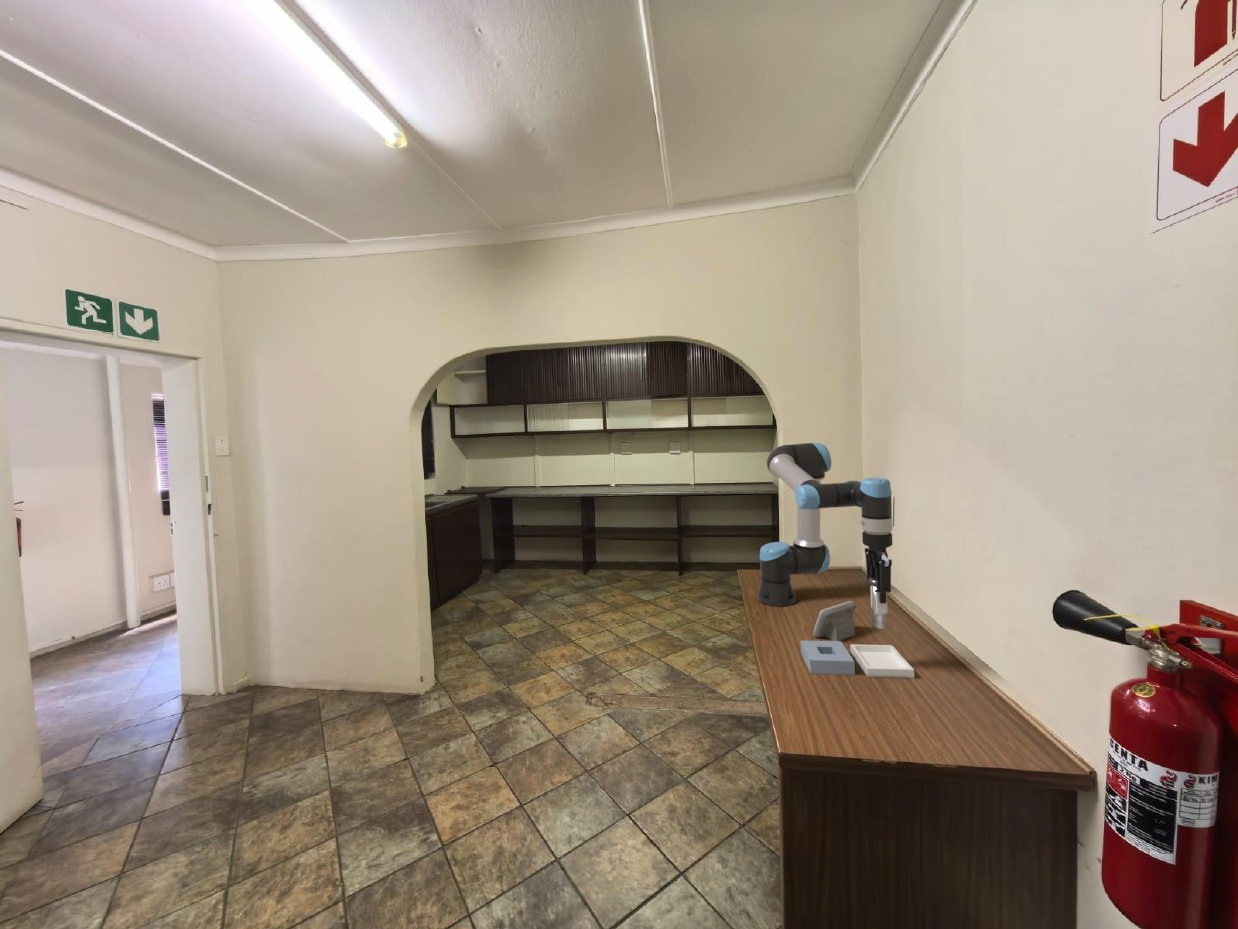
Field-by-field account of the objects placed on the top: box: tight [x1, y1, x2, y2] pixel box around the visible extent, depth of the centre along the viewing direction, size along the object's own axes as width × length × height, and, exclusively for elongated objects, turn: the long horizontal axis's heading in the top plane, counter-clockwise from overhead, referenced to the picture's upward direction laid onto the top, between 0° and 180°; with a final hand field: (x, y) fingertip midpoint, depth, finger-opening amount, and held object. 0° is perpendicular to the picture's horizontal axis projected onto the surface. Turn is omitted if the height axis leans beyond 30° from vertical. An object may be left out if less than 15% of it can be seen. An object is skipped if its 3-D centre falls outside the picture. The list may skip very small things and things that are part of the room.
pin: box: [868, 577, 886, 630], centre depth 128 cm, size 4×4×14 cm
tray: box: [849, 644, 915, 679], centre depth 130 cm, size 14×12×2 cm
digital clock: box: [813, 600, 857, 642], centre depth 149 cm, size 16×9×11 cm, turn 103°
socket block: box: [800, 640, 856, 676], centre depth 132 cm, size 12×12×4 cm
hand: (879, 610), depth 129 cm, fingers closed on pin, 3 cm apart
